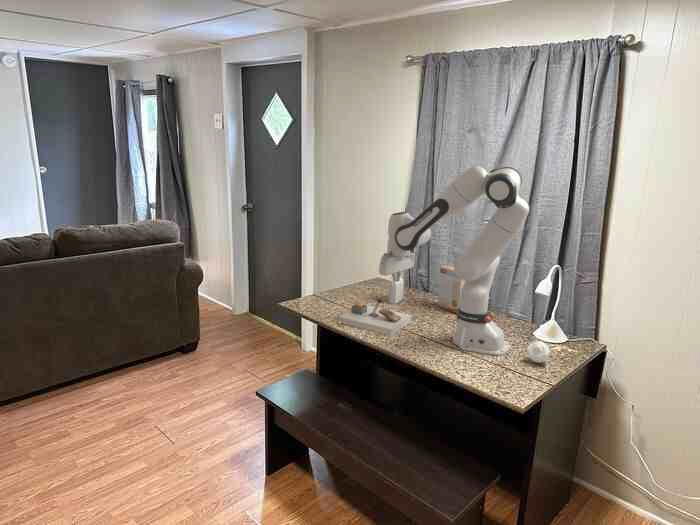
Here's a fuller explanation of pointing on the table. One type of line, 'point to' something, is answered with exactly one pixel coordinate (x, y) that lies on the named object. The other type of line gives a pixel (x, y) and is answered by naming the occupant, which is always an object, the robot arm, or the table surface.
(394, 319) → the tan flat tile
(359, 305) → the push button
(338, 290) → the table surface
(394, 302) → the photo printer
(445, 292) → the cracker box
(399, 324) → the switch panel
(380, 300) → the toggle lever
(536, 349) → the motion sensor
